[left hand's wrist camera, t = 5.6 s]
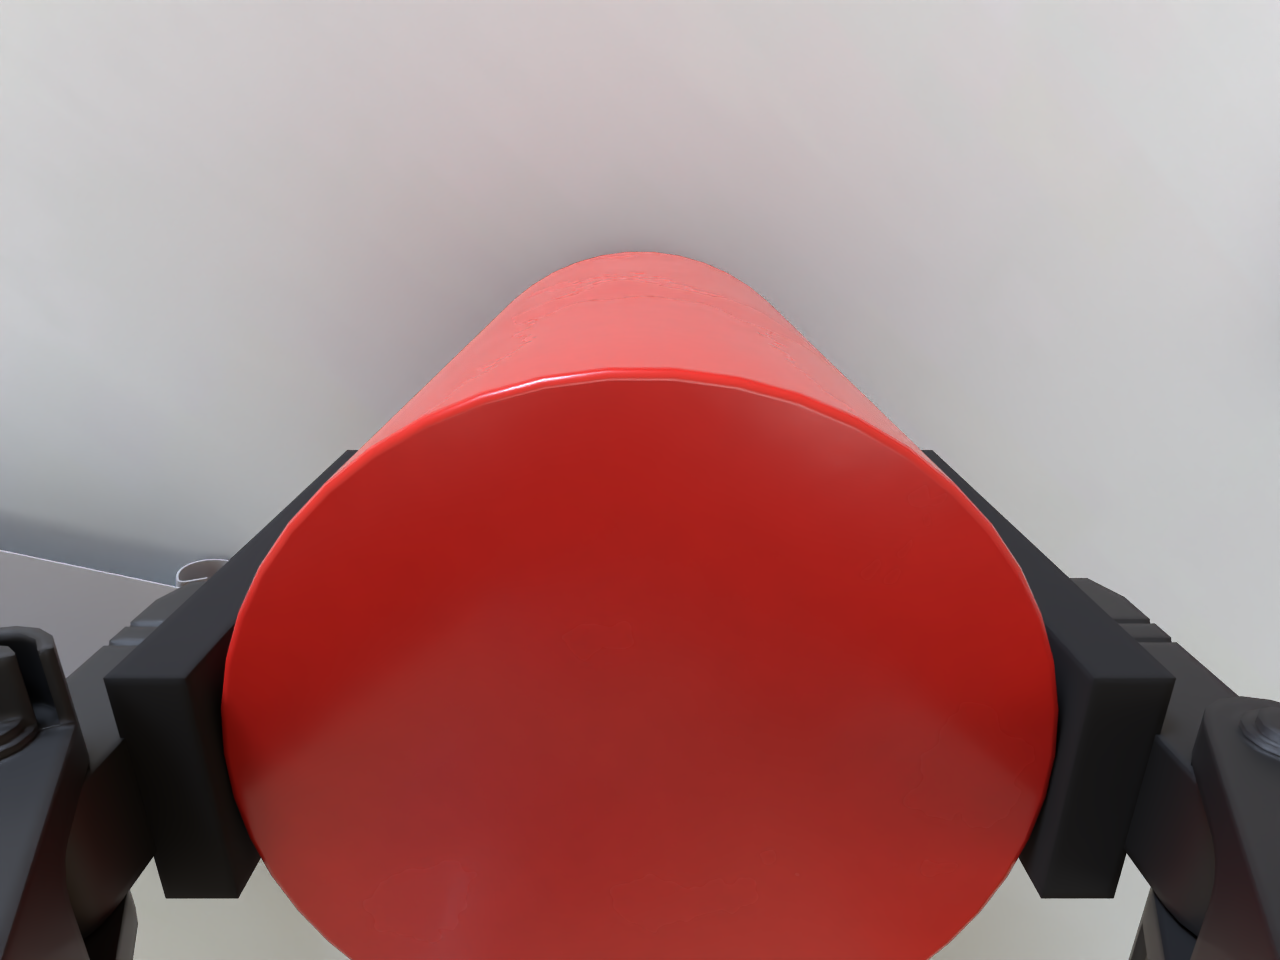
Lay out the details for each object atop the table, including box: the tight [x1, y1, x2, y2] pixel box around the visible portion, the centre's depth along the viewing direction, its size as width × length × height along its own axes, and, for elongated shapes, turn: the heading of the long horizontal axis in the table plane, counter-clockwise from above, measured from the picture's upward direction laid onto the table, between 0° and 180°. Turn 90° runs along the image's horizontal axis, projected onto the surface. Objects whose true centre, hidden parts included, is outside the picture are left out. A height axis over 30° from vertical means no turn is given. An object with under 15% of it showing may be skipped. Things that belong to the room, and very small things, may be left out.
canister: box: [221, 252, 1058, 960], centre depth 13 cm, size 8×8×11 cm
